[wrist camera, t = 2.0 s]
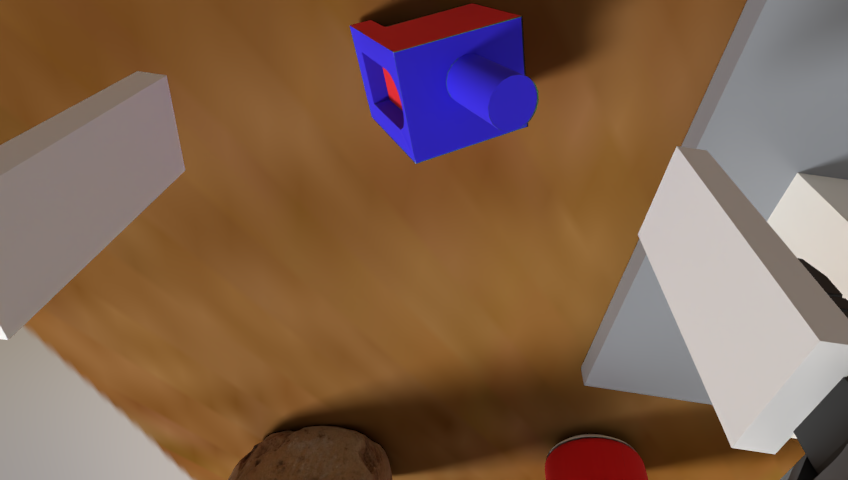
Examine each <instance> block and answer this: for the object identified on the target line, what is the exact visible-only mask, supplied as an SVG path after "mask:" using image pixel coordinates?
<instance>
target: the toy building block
mask: <svg viewBox="0 0 848 480" xmlns="http://www.w3.org/2000/svg"><path fill="white" fill-rule="evenodd" d="M350 29H351V33H352V37H353V41H354V46H355V50H356V54H357V58H358V62H359V66H360V70H361V74H362V79H363V83H364V87H365V91H366V95H367V99H368V103H369V108H370V112H371V116H372V118H373V119H374V120H375V121H376V122H377V123H378V124H379V125H380V126H381V127H382V128H383V129H384V131H385V132H386V133H387V134H388V135H389V136H390V137H391V138H392V139H393V140H394V141H395V142H396V143H397V144H398V145H399V146H400V148H401V149H402V150H403V151H404V152H405V153H406V154H407V155H408V156H409V157H410V158H411V159H412V160H413V161H414V162H415V164H417V163H420V162H423V161H426V160H429V159H432V158H435V157H438V156H441V155H444V154H447V153H450V152H453V151H456V150H459V149H462V148H465V147H468V146H471V145H474V144H477V143H480V142H483V141H486V140H489V139H492V138H495V137H498V136H501V135H504V134H507V133H510V132H513V131H516V130H519V129H522V128H525V127H528V122H529V121H530V120H531V118H532V116H533V115H534V113H535V111H536V108H537V105H538V90H537V87H536V85H535V83H534V82H533V81H532V80H531V79H530V78H529V77H527V76H525V57H524V39H523V20H522V16H520V15H516V14H512V13H508V12H504V11H500V10H497V9H493V8H489V7H485V6H481V5H477V4H473V3H472V4H468V5H464V6H460V7H457V8H453V9H449V10H446V11H442V12H438V13H434V14H431V15H427V16H423V17H420V18H416V19H412V20H408V21H405V22H401V23H397V24H393V25H390V26H386V27H384V26H382V25H380V24H378V23H376V22H374V21H372V20H368V21H365V22H361V23H357V24H353V25H350Z"/></svg>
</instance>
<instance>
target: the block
mask: <svg viewBox="0 0 848 480" xmlns="http://www.w3.org/2000/svg"><path fill="white" fill-rule="evenodd" d="M228 480H392V474H391V468H390V463H389V460H388V457H387V455H386V452H385V451H384V450H383V448H382V447H381V446H380V445H379V444H377V443H375V442H373V441H371V440H370V439H369V438H367V437H366V436H365V435H363V434H360V433H359V432H357V431H354V430H348V429H345V428H342V427H335V426H311V427H305V428H302V429H301V430H299V431H295V432H293V431H283V432H279V433H272V434H271V435H269V436H268V437H266V438H265V440H264V441H263V442H261V443H259V444H257V445H255V446H254V448H253V449H252V451H251V452H250V453H248V454H247V455H246V456H245V457H244V458H242V459H241V460H240V461H239V463H238V464H237V465H236V467H235V468H234V470H233V472H232V474H231V475H230V477H229V479H228Z"/></svg>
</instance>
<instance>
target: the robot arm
mask: <svg viewBox="0 0 848 480" xmlns="http://www.w3.org/2000/svg"><path fill="white" fill-rule="evenodd" d="M184 171H185V167H184V162H183V157H182V152H181V147H180V141H179V136H178V131H177V126H176V121H175V116H174V111H173V106H172V101H171V96H170V90H169V85H168V80H167V75H160V74H153V73H146V72H138V71H137V72H135V73H133V74H131V75H130V76H128V77H126V78H124V79H122V80H120V81H119V82H117V83H115V84H113V85H111V86H109V87H107V88H106V89H104V90H102V91H100V92H98V93H96V94H94V95H93V96H91V97H89V98H87V99H85V100H83V101H82V102H80V103H78V104H76V105H74V106H72V107H70V108H69V109H67V110H65V111H63V112H61V113H59V114H57V115H56V116H54V117H52V118H50V119H48V120H46V121H45V122H43V123H41V124H39V125H37V126H35V127H33V128H32V129H30V130H28V131H26V132H24V133H22V134H20V135H19V136H17V137H15V138H13V139H11V140H9V141H7V142H6V143H4V144H2V145H0V339H4V340H9V339H10V338H11V337H12V336H13V335H14V334H15V333H16V332H17V331H18V330H19V329H20V328H21V327H22V326H24V325H25V324H26V323H27V322H28V321H29V320H30V319H31V318H32V317H33V316H34V315H35V314H36V313H37V312H38V311H39V310H40V309H41V308H42V307H43V306H44V305H45V304H46V303H47V302H49V301H50V300H51V299H52V298H53V297H54V296H55V295H56V294H57V293H58V292H59V291H60V290H61V289H62V288H63V287H64V286H65V285H66V284H67V283H68V282H69V281H70V280H71V279H73V278H74V277H75V276H76V275H77V274H78V273H79V272H80V271H81V270H82V269H83V268H84V267H85V266H86V265H87V264H88V263H89V262H90V261H91V260H92V259H93V258H94V257H95V256H97V255H98V254H99V253H100V252H101V251H102V250H103V249H104V248H105V247H106V246H107V245H108V244H109V243H110V242H111V241H112V240H113V239H114V238H115V237H116V236H117V235H118V234H119V233H120V232H122V231H123V230H124V229H125V228H126V227H127V226H128V225H129V224H130V223H131V222H132V221H133V220H134V219H135V218H136V217H137V216H138V215H139V214H140V213H141V212H142V211H143V210H144V209H146V208H147V207H148V206H149V205H150V204H151V203H152V202H153V201H154V200H155V199H156V198H157V197H158V196H159V195H160V194H161V193H162V192H163V191H164V190H165V189H166V188H167V187H168V186H170V185H171V184H172V183H173V182H174V181H175V180H176V179H177V178H178V177H179V176H180V175H181V174H182V173H183V172H184ZM638 236H639V238H640V241H641V243H642V245H643V247H644V250H645V252H646V254H647V257H648V259H649V261H650V263H651V266H652V268H653V270H654V273H655V275H656V277H657V279H658V282H659V284H660V286H661V288H662V291H663V293H664V295H665V298H666V300H667V302H668V304H669V307H670V309H671V311H672V313H673V316H674V318H675V320H676V323H677V325H678V327H679V329H680V332H681V334H682V336H683V338H684V341H685V343H686V345H687V348H688V350H689V352H690V354H691V357H692V359H693V361H694V364H695V366H696V368H697V370H698V373H699V375H700V377H701V379H702V382H703V384H704V386H705V389H706V391H707V393H708V395H709V398H710V400H711V402H712V404H713V407H714V409H715V411H716V414H717V416H718V418H719V420H720V423H721V425H722V427H723V430H724V432H725V434H726V436H727V439H728V441H729V443H730V445H731V448H736V449H742V450H749V451H756V452H762V453H769V454H776V453H777V452H778V451H779V449H780V448H781V447H782V446H783V445H784V444H785V443H786V442H787V441H788V440H789V439H790V438H791V437H792V435H793V434H795V436H796V437H797V439H798V441H799V443H800V444H801V446H802V448H803V450H804V451H805V453H806V454H805V455H804V456H803V457H802V458H801V459H800V460H799V461H798V462H797V463H796V464H795V465H794V466H793V467H792V468H791V469H790V470H789V471H788V472H787V473H786V474H785V475H784V476H783V477H782V478H781V479H780V480H848V300H847V299H846V298H842V293H841V292H840V291H839V290H838V289H837V288H836V287H835V285H834V284H833V283H832V282H831V281H830V280H829V279H828V277H827V276H825V275H824V274H823V273H821V272H820V271H819V270H817V269H816V268H814V267H813V266H812V265H810V264H809V263H807V262H806V261H805V260H803V259H800V258H797V257H796V256H795V255H794V254H793V252H792V251H791V250H790V249H789V248H788V246H787V245H786V244H785V243H784V242H783V240H782V239H781V238H780V237H779V236H778V235H777V233H776V232H775V231H774V230H773V229H772V227H771V226H770V225H769V224H768V223H767V221H766V220H765V219H764V218H763V217H762V215H761V214H760V213H759V212H758V211H757V209H756V208H755V207H754V206H753V205H752V203H751V202H750V201H749V200H748V199H747V198H746V196H745V195H744V194H743V193H742V192H741V190H740V189H739V188H738V187H737V186H736V184H735V183H734V182H733V181H732V180H731V178H730V177H729V176H728V175H727V174H726V172H725V171H724V170H723V169H722V168H721V167H720V165H719V164H718V163H717V162H716V161H715V159H714V158H713V157H712V156H711V155H710V153H709V152H708V151H707V150H700V149H693V148H686V147H679V146H677V147H676V149H675V151H674V153H673V156H672V158H671V160H670V163H669V165H668V167H667V169H666V172H665V174H664V176H663V179H662V181H661V183H660V185H659V188H658V190H657V192H656V195H655V197H654V199H653V201H652V204H651V206H650V208H649V211H648V213H647V215H646V217H645V220H644V222H643V224H642V227H641V229H640V231H639V233H638Z"/></svg>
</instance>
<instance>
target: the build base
mask: <svg viewBox="0 0 848 480" xmlns="http://www.w3.org/2000/svg"><path fill="white" fill-rule="evenodd" d="M681 147H686V148H693V149H700V150H707V151H708V152H709V153H710V155H711V156H712V157H713V158H714V159H715V161H716V162H717V163H718V164H719V165H720V167H721V168H722V169H723V170H724V171H725V172H726V174H727V175H728V176H729V177H730V178H731V180H732V181H733V182H734V183H735V184H736V186H737V187H738V188H739V189H740V190H741V192H742V193H743V194H744V195H745V196H746V198H747V199H748V200H749V201H750V202H751V203H752V205H753V206H754V207H755V208H756V209H757V211H758V212H759V213H760V214H761V215H762V217H763V218H764V219H765V220H766V221H767V223H768V224H769V225H770V226H771V227H772V229H773V230H774V231H775V232H776V233H777V235H778V236H779V237H780V238H781V239H782V240H783V242H784V243H785V244H786V245H787V246H788V248H789V249H790V250H791V251H792V252H793V254H794V255H795V256H796V257H797V258H800V259H803V260H805V261H806V262H807V263H809V264H810V265H812V266H813V267H814V268H816V269H817V270H819V271H820V272H821V273H823V274H824V275H825V276H827V277H828V279H829V280H830V281H831V282H832V283H833V284H834V285H835V287H836V288H837V289H838V290H839V291H840V292H841V293H842V298H846V299H847V300H848V0H747V3H746V5H745V7H744V9H743V11H742V14H741V16H740V18H739V20H738V22H737V25H736V27H735V29H734V31H733V33H732V36H731V38H730V40H729V42H728V45H727V47H726V49H725V51H724V53H723V56H722V58H721V60H720V62H719V64H718V67H717V69H716V71H715V73H714V75H713V78H712V80H711V82H710V84H709V86H708V89H707V91H706V93H705V95H704V97H703V100H702V102H701V104H700V106H699V109H698V111H697V113H696V115H695V117H694V120H693V122H692V124H691V126H690V128H689V131H688V133H687V135H686V137H685V139H684V142H683V144H682V146H681ZM581 371H582V377H583V382H584V385H585V386H592V387H598V388H605V389H612V390H618V391H625V392H631V393H638V394H644V395H651V396H658V397H664V398H671V399H677V400H684V401H691V402H697V403H704V404H710V405H713V404H712V402H711V400H710V398H709V395H708V393H707V391H706V389H705V386H704V384H703V382H702V379H701V377H700V375H699V373H698V370H697V368H696V366H695V364H694V361H693V359H692V357H691V354H690V352H689V350H688V348H687V345H686V343H685V341H684V338H683V336H682V334H681V332H680V329H679V327H678V325H677V323H676V320H675V318H674V316H673V313H672V311H671V309H670V307H669V304H668V302H667V300H666V298H665V295H664V293H663V291H662V288H661V286H660V284H659V282H658V279H657V277H656V275H655V273H654V270H653V268H652V266H651V263H650V261H649V259H648V257H647V254H646V252H645V250H644V247H643V245H642V243H641V241H640V239H639V241H638V243H637V245H636V248H635V250H634V252H633V254H632V256H631V259H630V261H629V263H628V265H627V267H626V270H625V272H624V274H623V276H622V278H621V281H620V283H619V285H618V287H617V289H616V292H615V294H614V296H613V298H612V300H611V303H610V305H609V307H608V309H607V312H606V314H605V316H604V318H603V320H602V323H601V325H600V327H599V329H598V331H597V334H596V336H595V338H594V340H593V342H592V345H591V347H590V349H589V351H588V353H587V356H586V358H585V360H584V362H583V364H582V367H581ZM791 438H796V439H797V437H796V436H795V434H793V435H792V437H791Z"/></svg>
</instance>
